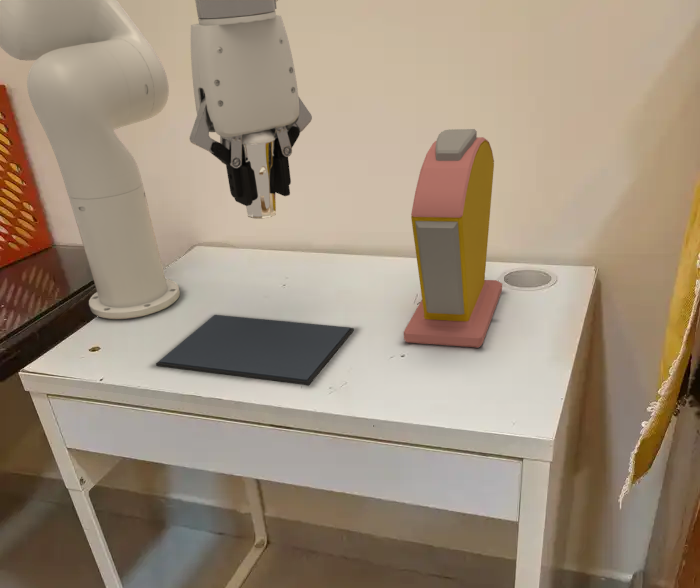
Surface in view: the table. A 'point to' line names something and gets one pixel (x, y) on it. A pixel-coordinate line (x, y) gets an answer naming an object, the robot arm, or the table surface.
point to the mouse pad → (258, 348)
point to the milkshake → (260, 172)
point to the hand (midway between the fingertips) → (262, 196)
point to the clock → (453, 242)
